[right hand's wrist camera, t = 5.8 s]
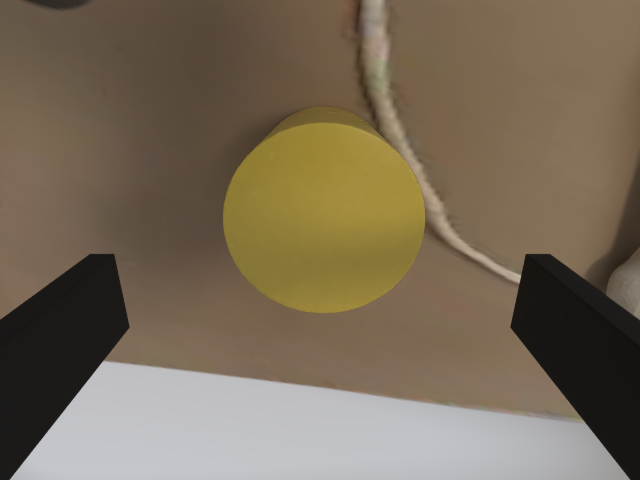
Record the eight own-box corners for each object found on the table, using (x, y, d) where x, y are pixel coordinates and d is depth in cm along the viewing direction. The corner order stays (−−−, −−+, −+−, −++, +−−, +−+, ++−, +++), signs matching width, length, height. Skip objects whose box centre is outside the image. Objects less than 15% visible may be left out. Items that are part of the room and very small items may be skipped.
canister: (324, 258, 29) (326, 345, 20) (231, 176, 27) (181, 230, 17) (416, 173, 27) (467, 225, 17) (321, 74, 24) (321, 71, 15)
